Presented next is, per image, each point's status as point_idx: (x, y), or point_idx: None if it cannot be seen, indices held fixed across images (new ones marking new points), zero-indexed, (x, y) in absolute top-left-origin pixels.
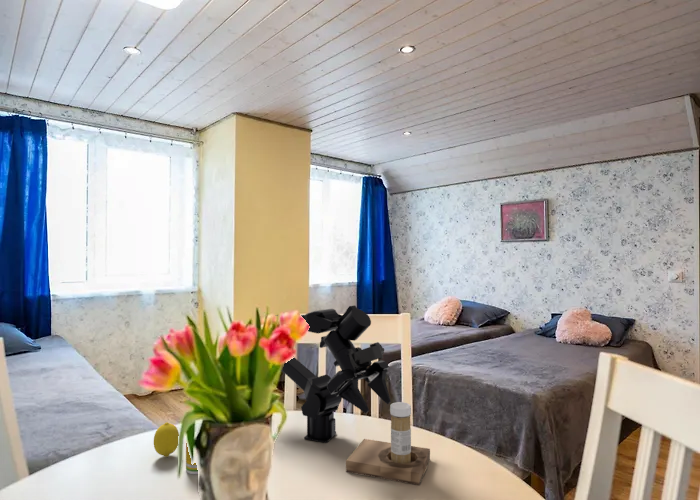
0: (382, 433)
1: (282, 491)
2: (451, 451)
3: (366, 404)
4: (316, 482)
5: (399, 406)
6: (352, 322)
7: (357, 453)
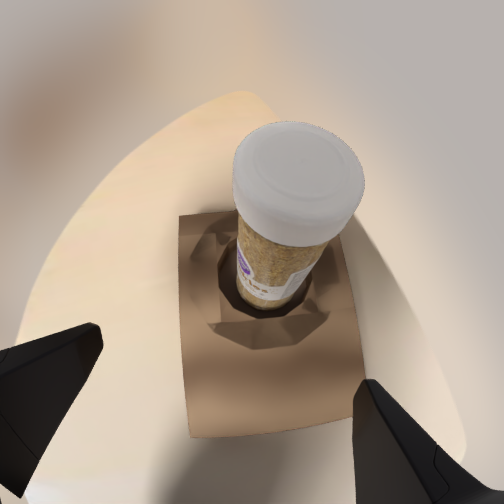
0: None
1: (460, 449)
2: (123, 200)
3: (378, 403)
4: None
5: (331, 160)
6: None
7: (312, 409)
